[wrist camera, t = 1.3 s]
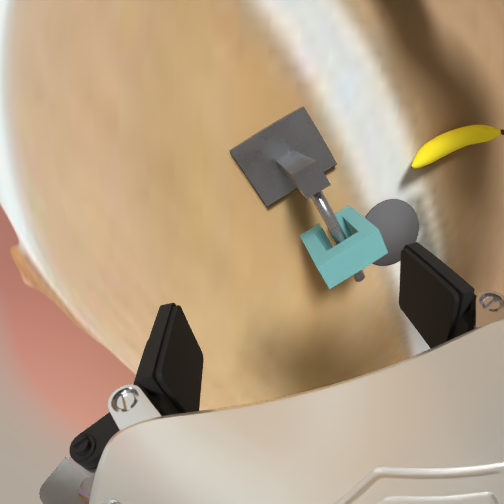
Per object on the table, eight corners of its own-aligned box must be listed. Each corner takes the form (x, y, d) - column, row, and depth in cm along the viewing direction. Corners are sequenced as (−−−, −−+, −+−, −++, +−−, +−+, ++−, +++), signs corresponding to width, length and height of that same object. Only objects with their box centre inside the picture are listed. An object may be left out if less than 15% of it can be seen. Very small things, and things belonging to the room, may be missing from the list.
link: (348, 205, 32) (378, 229, 25) (358, 225, 33) (388, 252, 26) (299, 235, 34) (316, 267, 26) (310, 254, 35) (329, 289, 28)
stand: (301, 107, 30) (332, 99, 20) (366, 226, 37) (406, 264, 27) (229, 150, 32) (226, 161, 22) (304, 264, 39) (327, 313, 29)
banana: (389, 150, 33) (415, 157, 27) (475, 118, 30) (503, 122, 24) (394, 170, 34) (421, 180, 28) (479, 135, 31) (506, 141, 25)
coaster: (405, 186, 35) (406, 187, 34) (423, 241, 38) (425, 243, 38) (348, 222, 36) (349, 223, 36) (373, 275, 40) (374, 277, 40)
